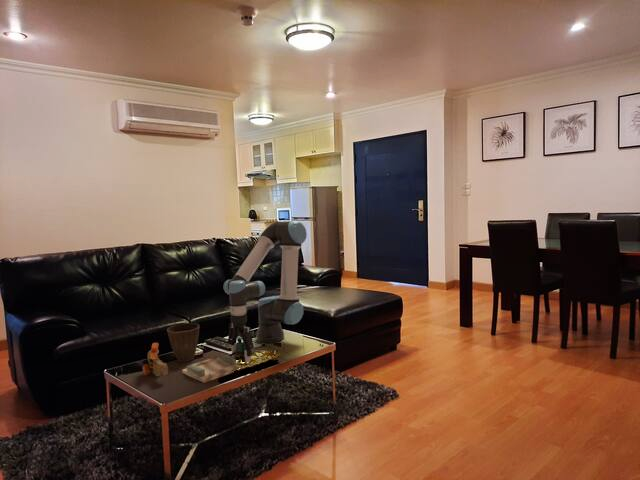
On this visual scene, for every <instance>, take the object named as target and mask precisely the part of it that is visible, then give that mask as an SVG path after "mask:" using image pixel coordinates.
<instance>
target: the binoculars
mask: <svg viewBox="0 0 640 480" xmlns="http://www.w3.org/2000/svg"><path fill="white" fill-rule="evenodd" d="M236 342H237V343H236V349H237V351H236V353H235V352H234V353H232V352H231V353H230V354H229V357H231V358H234V357H232V355H235V354H237V355H238V357H235V358H234V359H236V360H241V359H242V362H245V349H246V348H245V346H244V343H243V340H242V337H238V338H237V341H236ZM247 347H248V346H247ZM252 356H253V350H252V349H251V357H252Z"/></svg>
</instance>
